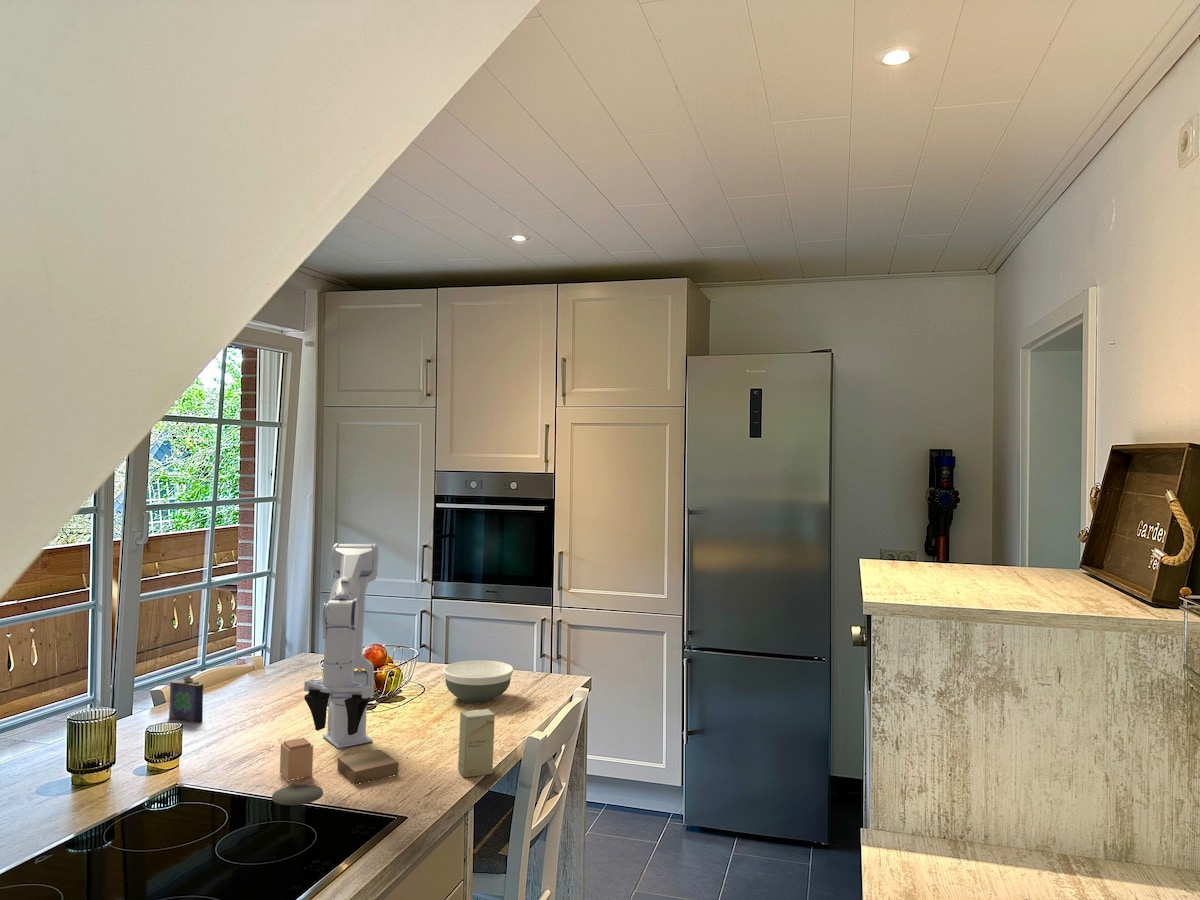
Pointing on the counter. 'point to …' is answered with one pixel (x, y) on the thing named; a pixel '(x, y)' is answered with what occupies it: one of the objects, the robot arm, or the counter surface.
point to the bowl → (478, 680)
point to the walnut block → (367, 766)
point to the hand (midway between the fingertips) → (336, 731)
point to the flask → (186, 700)
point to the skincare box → (476, 742)
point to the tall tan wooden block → (296, 759)
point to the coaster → (297, 794)
